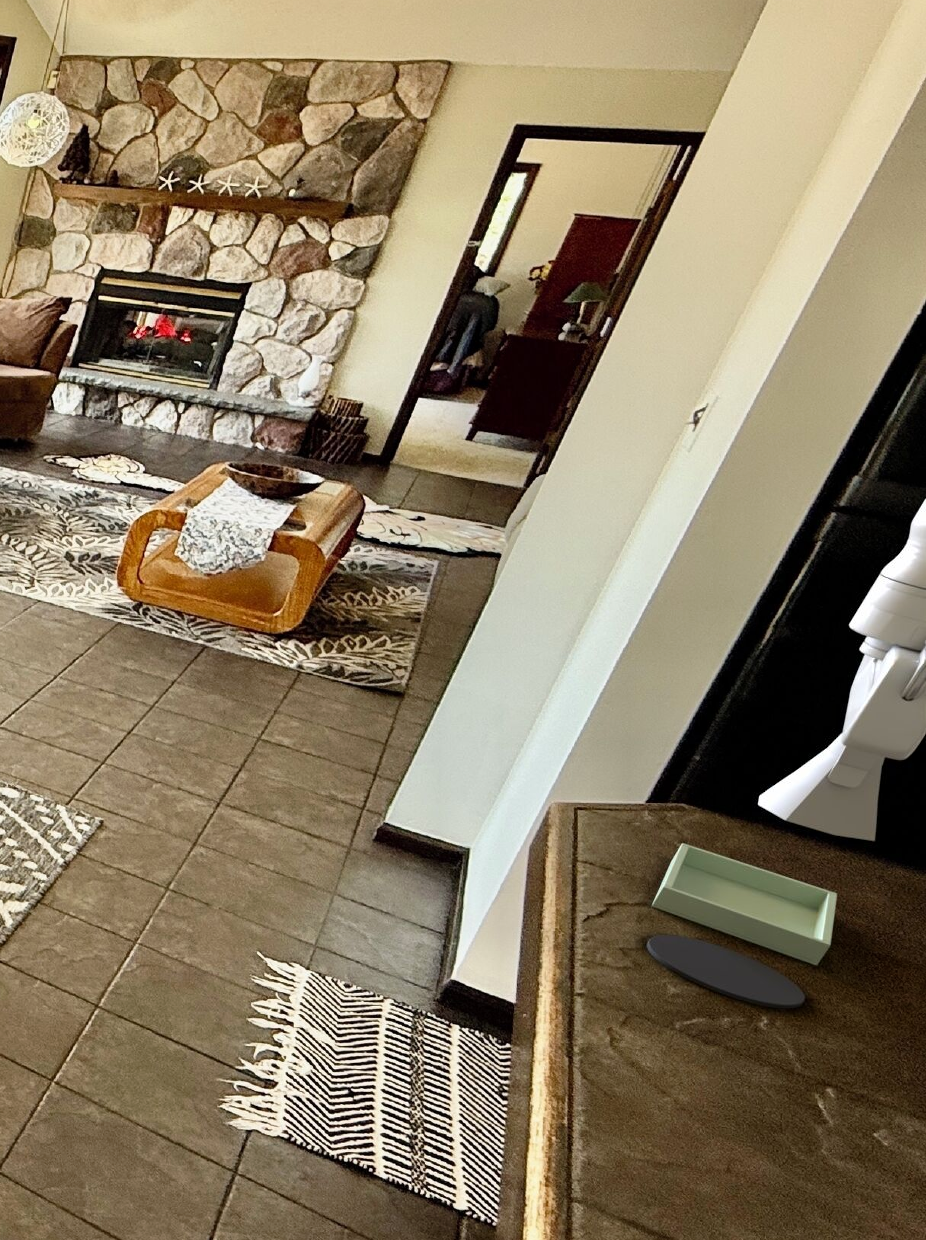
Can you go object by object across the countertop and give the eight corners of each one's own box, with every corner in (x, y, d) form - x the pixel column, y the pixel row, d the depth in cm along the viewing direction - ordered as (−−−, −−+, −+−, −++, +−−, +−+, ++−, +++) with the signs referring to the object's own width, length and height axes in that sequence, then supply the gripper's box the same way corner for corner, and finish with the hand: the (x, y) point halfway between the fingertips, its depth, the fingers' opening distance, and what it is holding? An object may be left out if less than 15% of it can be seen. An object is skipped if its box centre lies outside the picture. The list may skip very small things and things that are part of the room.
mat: (768, 961, 104) (770, 957, 104) (828, 1023, 96) (831, 1019, 95) (628, 926, 108) (630, 922, 108) (674, 983, 99) (676, 979, 99)
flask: (852, 817, 99) (920, 713, 95) (893, 851, 93) (967, 743, 89) (740, 791, 102) (801, 690, 98) (773, 824, 97) (839, 718, 93)
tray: (671, 861, 121) (682, 842, 120) (824, 912, 113) (837, 893, 112) (651, 906, 112) (663, 886, 111) (816, 965, 104) (830, 945, 103)
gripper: (1008, 661, 82) (896, 826, 88) (997, 616, 94) (899, 763, 100) (879, 633, 86) (780, 792, 92) (884, 593, 99) (796, 735, 104)
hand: (842, 776), depth 96 cm, fingers closed on flask, 3 cm apart
